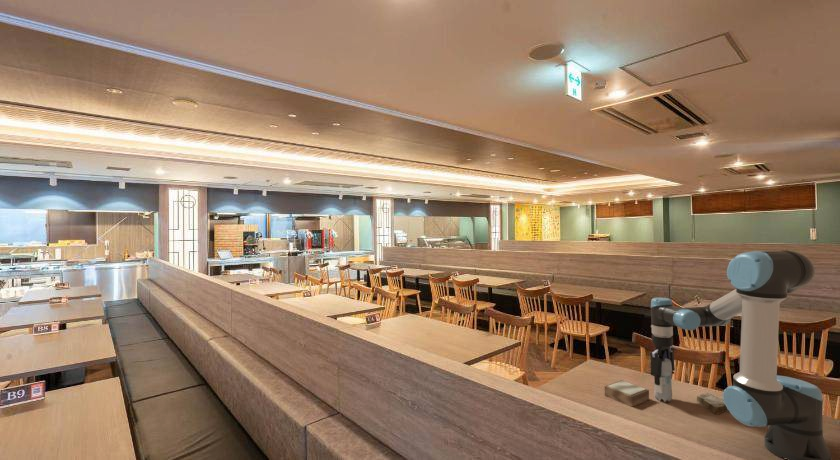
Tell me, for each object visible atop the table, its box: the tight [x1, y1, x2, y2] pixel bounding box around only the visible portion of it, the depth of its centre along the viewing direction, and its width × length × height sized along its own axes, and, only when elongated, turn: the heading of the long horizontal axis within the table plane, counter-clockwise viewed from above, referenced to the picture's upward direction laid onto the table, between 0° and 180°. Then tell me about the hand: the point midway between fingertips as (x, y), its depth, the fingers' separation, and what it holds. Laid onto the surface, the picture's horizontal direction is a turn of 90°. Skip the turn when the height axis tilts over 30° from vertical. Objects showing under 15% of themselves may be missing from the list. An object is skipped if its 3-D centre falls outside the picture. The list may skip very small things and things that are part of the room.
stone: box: [696, 392, 729, 415], centre depth 152 cm, size 15×8×3 cm, turn 176°
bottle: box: [653, 354, 673, 403], centre depth 158 cm, size 7×7×20 cm
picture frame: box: [604, 379, 650, 408], centre depth 161 cm, size 12×12×4 cm
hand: (663, 390), depth 158 cm, fingers closed on bottle, 6 cm apart
